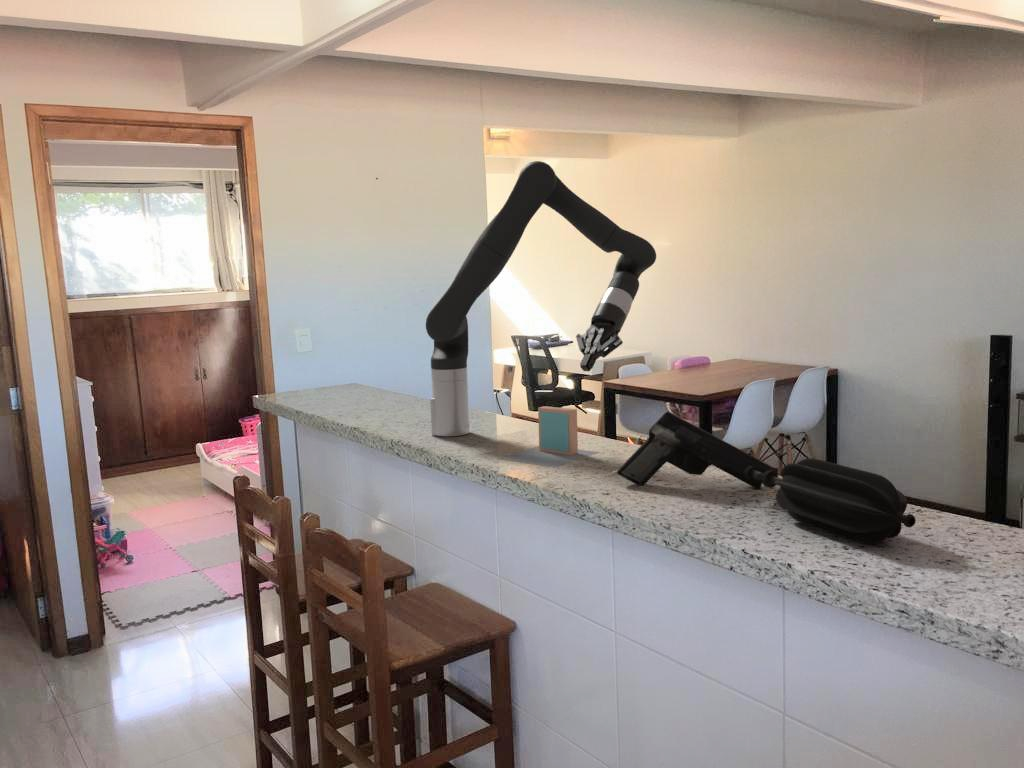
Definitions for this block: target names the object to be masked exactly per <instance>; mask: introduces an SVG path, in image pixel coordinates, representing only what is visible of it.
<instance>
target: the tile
mask: <svg viewBox="0 0 1024 768" xmlns="http://www.w3.org/2000/svg"><path fill="white" fill-rule="evenodd" d="M537 410H538V411H537V413H538V414H537V415H538V417H537V419H538V446H539V451H544V452H552V453H559V454H567V455H574V454H577V453H578V450H579V447H578V441H579V440H578V438H579V437H578V409H577V408H569V407H555V406H547V405H546V406H545V405H543V406H540V407H538V408H537Z"/></svg>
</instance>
